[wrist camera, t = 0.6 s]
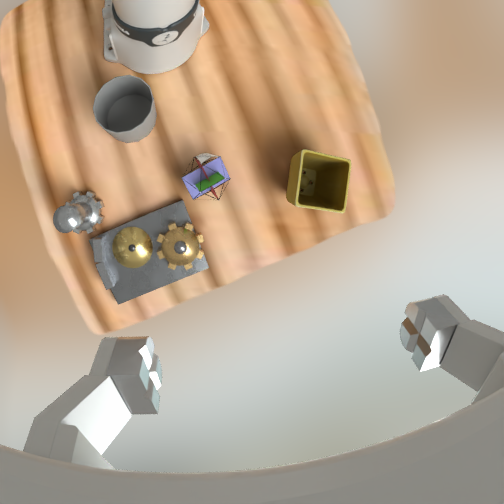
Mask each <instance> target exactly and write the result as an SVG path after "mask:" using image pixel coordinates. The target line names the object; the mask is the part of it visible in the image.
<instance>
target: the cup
mask: <svg viewBox="0 0 504 504" xmlns="http://www.w3.org/2000/svg"><path fill="white" fill-rule="evenodd" d="M93 111H94V115H95V119H96V121H97V122H98V123H99V124H100V125H101V127H102V128H103V129H104V130H106V131H107V132H108V133H109V134H110V135H112V136H113V137H114V138H115V139H117V140H119V141H122V142H125V143H131V142H138V141H140V140H141V139H143V138H144V137H146V136H148V135H149V133H150V132H151V130H152V129H153V127H154V126H155V121H156V116H157V114H156V109H155V103H154V98H153V95H152V92H151V88H150V86H149V85H148V84H147V83H146V82H145V81H144V80H142V79H141V78H138V77H135V76H131V75H126V76H120V77H115V78H114V79H112V80H110V81H109V82H107V83H106V84H104V85H103V86H102V88H101V89H100V91H99V92H98V93H97V95H96V97H95V101H94V106H93Z"/></svg>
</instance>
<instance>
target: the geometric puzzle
mask: <svg viewBox="0 0 504 504" xmlns="http://www.w3.org/2000/svg"><path fill="white" fill-rule="evenodd" d="M196 157H197V159H198V160H199V161H198V160H197V159H196ZM211 157H218V158H217V159H216V158H215V160H213V159H212V160H213V161H211V162H210V163H208V164H207V163H206V165H204V166H202V165H203V164H202V163H203V162H204V161H206V160H208V159H209V158H211ZM195 160H196V162H197V164H198V166H199V169H197V170H195V171H193V172H191V171H192V169H191V171H190V172H191V173H190V172H189V173H190V174H188V173H187V174H188V175H187V174H186V175H185V176H182V177H181V178H182V180H183V182H184V184H185V185H186V187H187V189H188V191H189V193H190V195H191V197H192V199H193V200H194V199H196V198H198V197H200V195H201V196H202V194H203V195H204V193H205V195H207V194H206V192H207V191H209V192H212V193H213V194H214V195H215V196H216V198H217V200H219V199H220V198H219V199H218V197H217V195H216V193H215V191H214V189H215V188H214V187H216V186H218V185H219V186H220V184H221V185H222V184H223V182H224V183H225V182H226V181H228V180H229V179H231V178H230V177H229V175H228V173H227V170H226V168H225V166H224V164H223V161H222V159H221V156H216V155H213V154H210V153H203V154H200V155H198V156H195ZM193 161H194V160H193ZM209 161H210V160H209ZM191 162H192V161H191ZM206 162H208V161H206ZM204 163H205V162H204ZM192 166H193V164H192ZM198 166H197V167H198ZM188 167H189V166H188ZM194 169H195V168H194ZM194 169H193V170H194ZM185 172H186V171H185ZM223 185H224V184H223ZM219 186H218V187H219ZM226 186H227V185H226ZM213 188H214V189H213ZM216 188H217V187H216ZM225 188H226V187H225ZM222 189H223V187H222ZM224 190H225V189H224ZM221 192H222V191H221ZM223 192H224V191H223ZM207 193H208V192H207ZM222 194H223V193H222ZM208 196H209V195H208ZM220 196H222V195H221V194H220ZM210 197H211V196H210ZM212 198H214V197H212ZM216 198H215V199H216Z"/></svg>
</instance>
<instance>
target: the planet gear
mask: <svg viewBox="0 0 504 504" xmlns="http://www.w3.org/2000/svg"><path fill="white" fill-rule="evenodd" d="M95 194H96V193H94V192H91V191H87V194H86V195H82V192H81V191H79V192H77V193H74V194H73V197H74V199H73V200H72V201H68V202H66V204H65V206H61V207H59V208H58V209H57V210H56V211H55V213H54V216H53V222H54V225H55V227H56V229H57V230H58V231H60V232H62V233H68V232H70V231H72V230H73V232H75V233H78V234H79V233H81V232H82V230H86V231H87V234H89V233H91V232H93V231H95V230H96V229H95V225H96V224H97V223H99V224H101V223H102V222H103V219H104V216H102V215H101V208H103V207H104V204H103V201H99V202H98V200H97V199H96V198H94V197H95Z"/></svg>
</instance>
